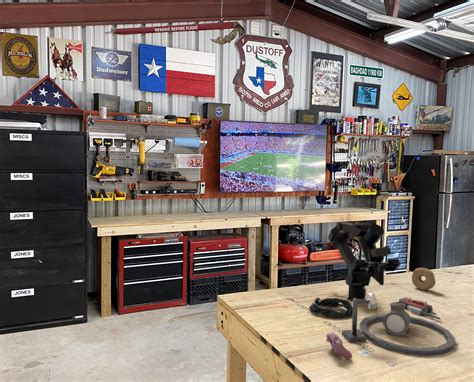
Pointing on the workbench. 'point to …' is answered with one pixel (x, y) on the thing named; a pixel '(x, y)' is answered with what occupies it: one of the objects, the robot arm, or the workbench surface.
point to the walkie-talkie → (418, 307)
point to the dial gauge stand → (355, 334)
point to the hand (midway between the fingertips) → (382, 284)
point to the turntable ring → (405, 349)
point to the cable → (331, 303)
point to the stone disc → (419, 282)
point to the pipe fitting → (396, 319)
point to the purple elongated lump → (338, 346)
